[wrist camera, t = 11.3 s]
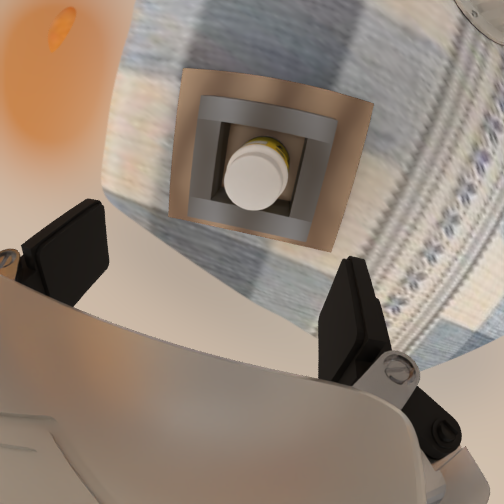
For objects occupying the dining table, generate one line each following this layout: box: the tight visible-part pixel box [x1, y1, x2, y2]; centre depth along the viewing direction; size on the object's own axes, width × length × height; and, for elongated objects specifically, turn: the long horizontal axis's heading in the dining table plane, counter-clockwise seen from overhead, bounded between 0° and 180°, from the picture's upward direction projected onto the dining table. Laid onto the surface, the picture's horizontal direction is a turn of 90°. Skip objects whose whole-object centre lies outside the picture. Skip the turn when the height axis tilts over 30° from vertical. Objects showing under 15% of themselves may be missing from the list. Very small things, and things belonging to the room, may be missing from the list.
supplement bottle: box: [224, 136, 290, 210], centre depth 23 cm, size 5×5×8 cm
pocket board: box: [168, 68, 374, 252], centre depth 25 cm, size 18×16×5 cm
